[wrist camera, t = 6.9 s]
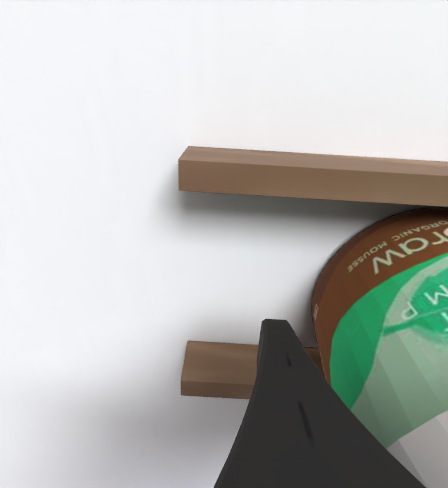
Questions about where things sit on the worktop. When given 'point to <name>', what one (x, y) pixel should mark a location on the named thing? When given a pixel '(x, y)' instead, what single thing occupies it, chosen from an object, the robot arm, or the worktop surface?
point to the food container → (392, 336)
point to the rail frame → (299, 186)
